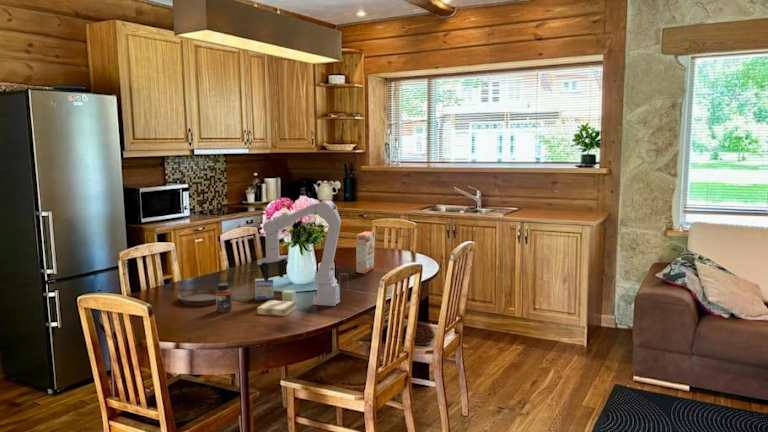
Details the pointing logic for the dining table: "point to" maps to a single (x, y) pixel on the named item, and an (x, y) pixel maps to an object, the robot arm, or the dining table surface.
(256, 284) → the medicine box
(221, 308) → the supplement bottle
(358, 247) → the cracker box
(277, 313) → the plinth
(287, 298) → the block
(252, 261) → the dining table surface
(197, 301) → the plant saucer
